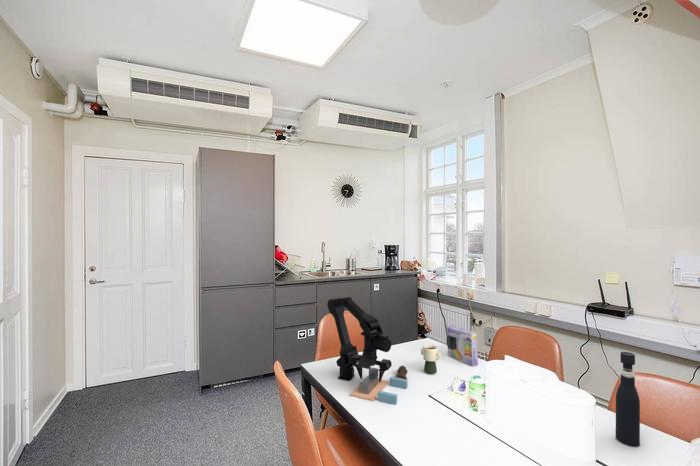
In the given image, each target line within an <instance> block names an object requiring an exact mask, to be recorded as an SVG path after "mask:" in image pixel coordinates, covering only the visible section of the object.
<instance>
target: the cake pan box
mask: <svg viewBox="0 0 700 466" xmlns="http://www.w3.org/2000/svg"><path fill="white" fill-rule="evenodd" d="M477 334H478V333H477V332H475V331H472V330H469V329H466V328H464V327H463V328H462V327H458V326H456V325H453V324H452V325H449V326H446V339H445V340H446V346H447V357H449V358H452V359H454V360H456V361H459V362H462V363H464V364H466V365H469V366H471V367H475V366H478V365H479V359H478V358H479V357H478V335H477Z"/></svg>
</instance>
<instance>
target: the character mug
mask: <svg viewBox="0 0 700 466" xmlns="http://www.w3.org/2000/svg"><path fill="white" fill-rule="evenodd" d="M438 350H439V349H438V346H436V345H434V344H425V345H423V346H422V348H420V355H422V356H423V360H424V361H425V362H424V367H423V371H424V373H426V374H436V373H437V372H438V370H437V363H436V361H437V360H441V352H439V351H438Z"/></svg>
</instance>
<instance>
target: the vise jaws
mask: <svg viewBox="0 0 700 466" xmlns="http://www.w3.org/2000/svg"><path fill="white" fill-rule="evenodd" d="M408 382H409V381H408V379H407V380H406V379H401V378H396V376H390V377H389V386H390V387H394V388H399V389H405V390H407V389H408ZM377 401H378V402H382V403H386V404H390V405H394V406H396V405H397V404H398V394H396V393H392V392H388V391H383V390H382V391H379V392H378V396H377Z"/></svg>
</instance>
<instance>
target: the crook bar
mask: <svg viewBox="0 0 700 466" xmlns="http://www.w3.org/2000/svg"><path fill="white" fill-rule="evenodd" d="M378 379H379V367H378V368H377V367H373V366H370V368H369V369H368V375H367V376H366V377H365V378H364V379H363V380H362V381H361V382H360V383H359V385H360V393H363V394H368V395H369V394H370V392H371V391H372V390H373V389H374V388H375V387H376V386H377V384H378Z"/></svg>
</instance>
